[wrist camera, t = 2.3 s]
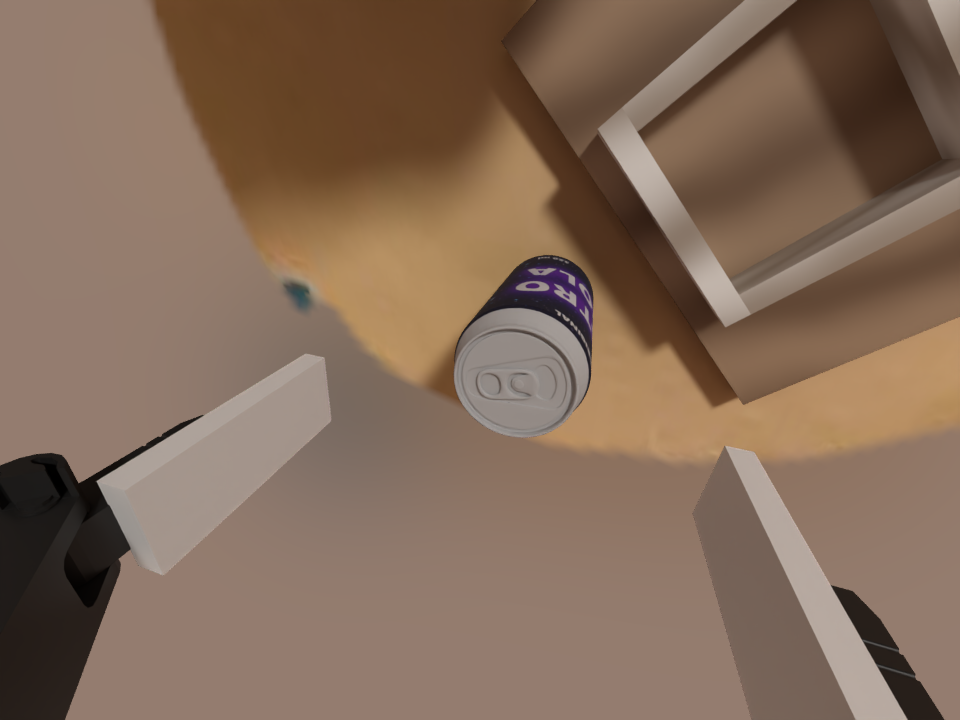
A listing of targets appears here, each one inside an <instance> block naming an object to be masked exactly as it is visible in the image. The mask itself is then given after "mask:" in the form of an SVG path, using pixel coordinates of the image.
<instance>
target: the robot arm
mask: <svg viewBox="0 0 960 720" xmlns="http://www.w3.org/2000/svg"><path fill="white" fill-rule="evenodd" d="M327 386H328V385H327V376H326V368H325V358H324V357H319V356H314V355H309V354H305V355H303V356H301V357H299V358H298V359H296V360H295V361H293V362H291V363H290V364H288V365H286V366H285V367H283V368H281V369H280V370H278V371H276V372H275V373H273V374H272V375H270V376H268V377H267V378H265V379H263V380H262V381H260V382H258V383H257V384H255V385H253V386H252V387H250V388H249V389H247V390H245V391H244V392H242V393H240V394H239V395H237V396H235V397H234V398H232V399H230V400H229V401H227V402H226V403H224V404H222V405H221V406H219V407H218V408H216V409H214V410H212V411H211V412H209V413H207V414H206V415H201V416H199V417H196V418H193V419H191V420H188V421H185V422H183V423H180V424H179V425H177V426H175V427H174V428H172V429H170V430H169V431H167V432H165V433H163V434H162V436H161V437H157V438H155V439H153V440H152V441H150V442H148V443H147V444H146V446H142V447H140V448H138V449H136V450H135V451H133V452H131V453H130V454H128V455H126V456H125V457H123V458H121V459H120V460H118V461H116V462H114V463H113V464H111V465H110V466H108V467H106V468H104V469H103V470H101V471H100V472H98V473H96V474H94V475H93V476H91V477H89V478H88V479H86V480H84V481H82V482H80V483H78V481H77V480H76V478H75V476H74V474H73V472H72V470H71V469H70V466H69V465H68V462H67V461H66V459H65V458H64V457H63V456H62V455H59V454H54V453H47V454H36V455H31V456H27V457H23V458H19V459H16V460H13V461H11V462H8V463H5V464H3V465H1V466H0V720H65V718H66V715H67V713H68V710H69V707H70V704H71V702H72V699H73V697H74V694H75V691H76V689H77V686H78V683H79V680H80V678H81V675H82V672H83V669H84V667H85V664H86V662H87V658H88V656H89V654H90V651H91V648H92V645H93V643H94V640H95V637H96V635H97V632H98V629H99V627H100V624H101V621H102V618H103V616H104V613H105V610H106V608H107V605H108V602H109V600H110V597H111V594H112V591H113V589H114V586H115V584H116V581H117V578H118V576H119V573H120V566H121V564H120V561H119V558H120V557H121V556H123V555H124V554H125V553H126V552H127V551H129V550H131V552H132V554H133V556H134V558H135V560H136V562H137V564H138V566H140V567H143V568H146V569H148V570H151V571H153V572H156V573H158V574H161V575H165V574H166V573H167V572H168V571H169V570H170V569H171V568H172V567H173V566H174V565H175V564H177V563H178V561H180V560H181V559H182V558H183V557H184V556H185V555H186V554H187V553H188V552H190V551H191V550H192V549H193V548H194V547H195V546H196V545H197V544H198V543H199V542H200V541H201V540H203V539H204V538H205V537H206V536H207V535H208V534H209V533H210V532H211V531H212V530H213V529H215V528H216V527H217V526H218V525H219V524H220V523H221V522H222V521H223V520H224V519H225V518H226V517H228V516H229V515H230V514H231V513H232V512H233V511H234V510H235V509H236V508H237V507H238V506H239V505H240V504H242V503H243V502H244V501H245V500H246V499H247V498H248V497H249V496H250V495H251V494H252V493H254V491H256V490H257V489H258V488H259V487H260V486H261V485H262V484H263V483H264V482H266V481H267V480H268V479H269V478H270V477H271V476H272V475H273V474H274V473H275V472H276V471H277V470H279V469H280V468H281V467H282V466H283V465H284V464H285V463H286V462H287V461H288V460H289V459H290V458H292V457H293V456H294V455H295V454H296V453H297V452H298V451H299V450H300V449H301V448H302V447H303V446H304V445H306V444H307V443H308V442H309V441H310V440H311V439H312V438H313V437H314V436H315V435H316V434H318V433H319V432H320V431H321V430H322V429H323V428H324V427H325V426H326V425H327V424H328V423H329V422H331V412H330V403H329V394H328V387H327ZM693 516H694V520H695V523H696V527H697V530H698V534H699V537H700V541H701V544H702V548H703V551H704V555H705V558H706V562H707V565H708V569H709V572H710V576H711V579H712V583H713V586H714V590H715V593H716V597H717V600H718V604H719V607H720V611H721V614H722V618H723V621H724V625H725V628H726V632H727V635H728V639H729V642H730V646H731V649H732V653H733V656H734V660H735V663H736V667H737V670H738V674H739V677H740V680H741V684H742V688H743V691H744V695H745V698H746V702H747V705H748V709H749V712H750V716H751V719H752V720H944V719H943V717H942V715H941V714H940V712H939V711H938V709H937V708H936V706H935V704H934V703H933V701H932V699H931V698H930V697H929V695H928V693H927V692H926V690H925V689H924V687H923V686H922V684H921V682H920V681H917V680H916V678H915V673H914V671H913V670H912V668H911V667H910V665H909V664H908V662H907V661H906V659H905V657H904V656H903V655H901V654H899V648H898V647H897V645H896V644H895V642H894V640H893V639H892V637H891V636H890V634H889V633H888V631H887V629H886V628H885V626H884V625H883V623H882V621H881V620H880V619H879V618H878V617H877V616H876V615H875V614H874V612H873V611H872V610H871V609H870V608H869V607H868V606H867V605H866V604H865V603H864V602H863V601H862V600H861V599H860V598H859V597H858V596H857V595H856V594H855V593H854V592H853V591H850V590H846V589H843V588H839V587H835V586H832V585H830V584H829V582H828V580H827V579H826V577H825V575H824V573H823V571H822V570H821V568H820V566H819V564H818V563H817V561H816V559H815V557H814V556H813V554H812V552H811V550H810V549H809V547H808V545H807V543H806V542H805V540H804V538H803V536H802V535H801V533H800V531H799V529H798V528H797V526H796V524H795V522H794V521H793V519H792V517H791V515H790V514H789V512H788V510H787V509H786V507H785V505H784V503H783V501H782V500H781V498H780V496H779V495H778V493H777V491H776V489H775V488H774V486H773V484H772V482H771V481H770V479H769V477H768V475H767V474H766V472H765V470H764V468H763V467H762V465H761V463H760V461H759V460H758V458H757V456H756V454H755V453H754V452H752V451H747V450H743V449H738V448H734V447H729V446H724V448H723V451H722V453H721V455H720V457H719V459H718V461H717V463H716V465H715V467H714V469H713V472H712V474H711V476H710V478H709V480H708V482H707V484H706V486H705V489H704V490H703V492H702V494H701V497H700V499H699V501H698V503H697V505H696V507H695V509H694V511H693Z"/></svg>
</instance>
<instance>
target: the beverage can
mask: <svg viewBox="0 0 960 720" xmlns="http://www.w3.org/2000/svg"><path fill="white" fill-rule="evenodd" d="M592 325H593V291H592V287H591V284H590V281H589V279H588V278H587V276H586V274H585V273H584V272H583V271H582V270H581V269H580V268H579V267H578V266H577V265H576V264H574V263H573V262H571V261H569V260H567V259H565V258H562V257H559V256H553V255H543V256H537V257H533V258H531V259H528V260H526V261H524V262H523V263H521V264H520V265H519V266H517V267H516V268H515V269H514V271H513V272H512V273H511V274H510V275H509V276H508V278H507V279H506V280H505V281H504V282H503V284H502V285H501V286H500V287H499V288H498V290H497V291H496V292H495V293H494V294H493V296H492V297H491V298H490V299H489V300H488V302H487V303H486V304H485V305H484V306H483V307H482V309H481V310H480V311H479V312H478V313H477V315H476V316H475V317H474V318H473V319H472V321H471V322H470V323H469V324H468V325H467V327H466V328H465V329H464V331H463V332H462V334H461V336H460V338H459V340H458V343H457V346H456V350H455V360H454V362H455V367H454V384H455V389H456V392H457V395H458V397H459V400H460V401H461V403H462V405H463V407H464V408H465V409H466V410H467V412H468V413H469V414H470V415H471V416H472V417H473V418H474V419H475V420H476V421H478V422H479V423H480V424H482V425H483V426H485V427H486V428H488V429H490V430H492V431H494V432H497V433H499V434H502V435H506V436H511V437H519V438H528V437H536V436H540V435H544V434H546V433H549V432H551V431H553V430H555V429H556V428H558V427H559V426H561V425H562V424H563V423H564V422H565V421H566V420H567V419H568V418H569V416H570V415H571V414H572V412H573V411H574V410H575V409H576V408H577V407H578V406H579V405H580V403H581V402H582V400H583V399H584V397H585V395H586V393H587V391H588V388H589V384H590V379H591V357H592Z"/></svg>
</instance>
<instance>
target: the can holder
mask: <svg viewBox="0 0 960 720" xmlns="http://www.w3.org/2000/svg"><path fill="white" fill-rule="evenodd" d="M501 42H502V43H503V45H504V46H505V48H506V49H507V51H508V52H509V54H510V55H511V57H512V58H513V60H514V61H515V63H516V64H517V66H518V67H519V69H520V70H521V72H522V73H523V75H524V76H525V78H526V79H527V81H528V82H529V84H530V85H531V87H532V88H533V90H534V91H535V93H536V94H537V96H538V97H539V99H540V100H541V102H542V103H543V105H544V106H545V108H546V109H547V111H548V112H549V114H550V115H551V117H552V118H553V120H554V121H555V123H556V124H557V126H558V127H559V129H560V130H561V132H562V133H563V135H564V136H565V138H566V139H567V141H568V142H569V144H570V145H571V147H572V148H573V150H574V151H575V153H576V154H577V156H578V157H579V159H580V160H581V162H582V163H583V165H584V166H585V168H586V169H587V171H588V172H589V174H590V175H591V177H592V178H593V180H594V181H595V183H596V184H597V186H598V187H599V189H600V190H601V192H602V193H603V195H604V196H605V198H606V199H607V201H608V202H609V204H610V205H611V207H612V208H613V210H614V211H615V213H616V214H617V216H618V217H619V219H620V220H621V222H622V223H623V225H624V226H625V228H626V229H627V231H628V232H629V234H630V235H631V237H632V238H633V240H634V241H635V243H636V244H637V246H638V247H639V249H640V250H641V252H642V253H643V255H644V256H645V258H646V259H647V261H648V262H649V264H650V265H651V267H652V268H653V270H654V271H655V273H656V274H657V276H658V277H659V279H660V280H661V282H662V283H663V285H664V286H665V288H666V289H667V291H668V292H669V294H670V295H671V297H672V298H673V300H674V301H675V303H676V305H677V306H678V308H679V309H680V311H681V312H682V314H683V315H684V317H685V318H686V320H687V321H688V323H689V324H690V326H691V327H692V329H693V330H694V332H695V333H696V335H697V336H698V338H699V339H700V341H701V342H702V344H703V345H704V347H705V348H706V350H707V351H708V353H709V354H710V356H711V357H712V359H713V360H714V362H715V363H716V365H717V366H718V368H719V369H720V371H721V372H722V374H723V375H724V377H725V378H726V380H727V381H728V383H729V384H730V386H731V387H732V389H733V390H734V392H735V393H736V395H737V396H738V398H739V399H740V401H741V402H742V404H743V405H744V404H746V403H749V402H751V401H754V400H756V399H759V398H761V397H764V396H766V395H769V394H771V393H773V392H776V391H778V390H781V389H783V388H786V387H788V386H791V385H793V384H796V383H798V382H801V381H803V380H805V379H808V378H810V377H813V376H815V375H818V374H820V373H823V372H825V371H828V370H830V369H832V368H835V367H837V366H840V365H842V364H845V363H847V362H850V361H852V360H855V359H857V358H860V357H862V356H864V355H867V354H869V353H872V352H874V351H877V350H879V349H882V348H884V347H887V346H889V345H891V344H894V343H896V342H899V341H901V340H904V339H906V338H909V337H911V336H914V335H916V334H919V333H921V332H923V331H926V330H928V329H931V328H933V327H936V326H938V325H941V324H943V323H946V322H948V321H950V320H953V319H955V318H958V317H960V0H537V1H536V2H535V3H534V4H533V5H532V6H531V8H530V9H529V10H528V11H527V12H526V13H525V14H524V16H523V17H522V18H521V19H520V20H519V21H518V23H517V24H516V25H515V26H514V27H513V28H512V29H511V31H510V32H509V33H508V34H507V35H506V36H505V37H504V39H503V40H502V41H501Z"/></svg>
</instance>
